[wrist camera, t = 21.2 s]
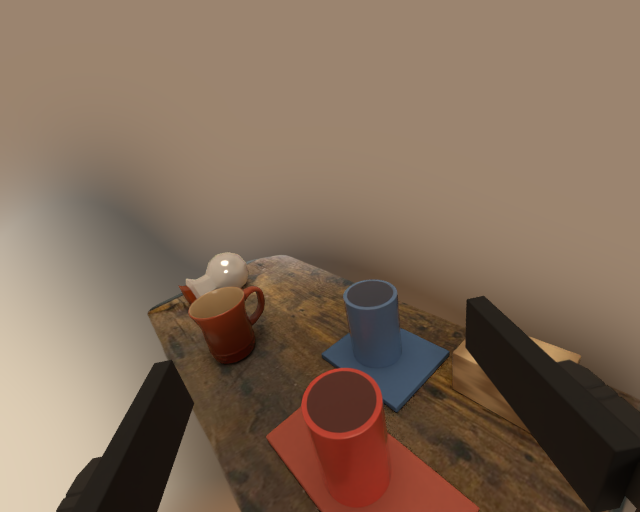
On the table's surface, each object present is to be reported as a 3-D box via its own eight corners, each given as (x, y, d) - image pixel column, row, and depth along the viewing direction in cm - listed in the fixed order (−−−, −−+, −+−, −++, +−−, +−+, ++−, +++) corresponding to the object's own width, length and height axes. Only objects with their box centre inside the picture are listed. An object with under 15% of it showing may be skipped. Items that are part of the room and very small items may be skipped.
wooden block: (571, 394, 34) (581, 355, 32) (547, 443, 30) (556, 402, 28) (480, 354, 42) (483, 319, 39) (452, 388, 38) (452, 352, 35)
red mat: (479, 512, 26) (479, 507, 26) (411, 633, 21) (410, 629, 21) (329, 387, 41) (328, 383, 41) (267, 440, 36) (265, 436, 36)
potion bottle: (257, 285, 74) (203, 322, 67) (234, 258, 77) (179, 291, 70) (257, 265, 67) (195, 304, 60) (231, 237, 70) (169, 271, 63)
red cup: (406, 465, 30) (399, 395, 26) (357, 528, 26) (339, 458, 22) (354, 420, 35) (342, 355, 31) (307, 467, 32) (285, 401, 27)
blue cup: (412, 346, 44) (408, 288, 40) (380, 376, 40) (372, 316, 36) (374, 327, 49) (367, 274, 45) (343, 352, 46) (332, 296, 41)
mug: (223, 380, 46) (200, 326, 42) (202, 354, 52) (180, 305, 48) (286, 336, 52) (271, 287, 48) (260, 318, 59) (245, 273, 54)
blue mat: (449, 355, 42) (449, 351, 42) (396, 412, 36) (396, 408, 36) (373, 318, 53) (372, 314, 52) (322, 357, 46) (321, 353, 46)
